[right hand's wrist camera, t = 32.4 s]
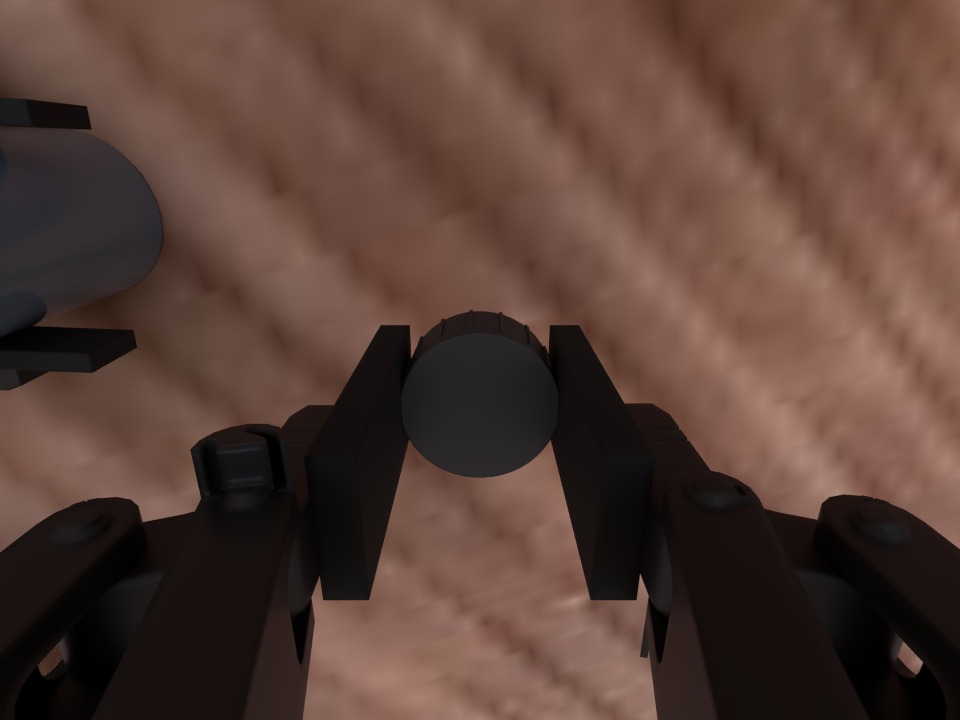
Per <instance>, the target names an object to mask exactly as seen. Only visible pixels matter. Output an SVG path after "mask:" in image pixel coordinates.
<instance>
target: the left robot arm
mask: <svg viewBox="0 0 960 720" xmlns="http://www.w3.org/2000/svg"><path fill="white" fill-rule="evenodd" d="M0 126H18V127H42V128H65V129H89V130H92V129H91V124H90V120H89V115H88V110H87V106H80V105H71V104H62V103H54V102H45V101H36V100H28V99H8V98H0ZM135 348H137V345H136V340H135V335H134V331H133V330H116V329H91V328H65V327H40V326H30V327H28V328H25V329H22V330H20V331H17V332H15V333H12V334H9V335H7V336H4V337H2V338H0V390H11V389H14V388H16V387H19V386H21V385H23V384H25V383H27V382H29V381H31V380H33V379H35V378H37V377H39V376H41V375H43V374H45V373H47V372H48V371H59V372H85V373H93V372H94V371H96V370H98V369H100V368H102V367H103V366H105V365H107V364H109V363H110V362H112V361H114V360H116V359H117V358H119V357H121V356H123V355H125V354H126V353H128V352H130V351H132V350H133V349H135Z"/></svg>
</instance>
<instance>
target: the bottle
mask: <svg viewBox="0 0 960 720" xmlns="http://www.w3.org/2000/svg"><path fill="white" fill-rule="evenodd" d="M161 244H162V222H161V216H160V212H159V208H158V205H157V203H156V200H155V197H154V195H153V193H152V191H151V189H150V187H149V186H148V184H147V182H146V181H145V179H144V178H143V176H142V175H141V174H140V173H139V171H138V170H137V169H136V168H135V167H134V165H133V164H132V163H131V162H130V161H128V160H127V159H126V158H125V157H124V156H123V155H122V154H121V153H119V152H118V151H117V150H116V149H114V148H113V147H111V146H109V145H108V144H106V143H105V142H103V141H101V140H99V139H97V138H95V137H92V136H90V135H87V134H84V133H81V132H76V131H72V130H62V129H45V128H26V127H7V126H0V338H2V337H4V336H7V335H9V334H12V333H15V332H17V331H20V330H22V329H25V328H28V327H30V326H33V325H35V324H38V323H41V322H43V321H46V320H48V319H51V318H54V317H56V316H59V315H61V314H64V313H66V312H69V311H72V310H74V309H77V308H79V307H82V306H85V305H87V304H90V303H92V302H95V301H98V300H100V299H103V298H105V297H108V296H111V295H113V294H116V293H118V292H121V291H124V290H126V289H129V288H130V287H132V286H134V285H136V284H137V283H139V282H140V281H141V280H143V279H144V278H145V277H146V276H147V275H148V274H149V273H150V271H151V270H152V268H153V267H154V265H155V263H156V261H157V259H158V256H159V253H160V249H161Z"/></svg>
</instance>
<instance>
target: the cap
mask: <svg viewBox="0 0 960 720" xmlns="http://www.w3.org/2000/svg"><path fill="white" fill-rule="evenodd" d="M552 367H553V366H552V364H551V361H550V358H549V355H548V352H547V349H546V347H545V346H542V344H541V343H540V342H539V340H538V339H537V337H536V336H535V335H534V334H533V333H532V332H531V331H530V330H529V327H528V326H527V325H525V326H524V325H522V324H521V323H519V322H518V321H516V320H514V319H512V318H510V317H507V316H505V315H503V313H502V312H499V314H498V313H492V312H482V311H475V312H473V310H469V312H467V313H462V314H458V315H455V316H453V317H450V318H448V319H446V320H445V319H444V318H443V319H441V322H440V323H439V324H437V325H436V326H435V327H433V328H432V329H431V330H430V331H429V332H428V333H427V334H426V335H425V336H424V337H422V336H421V337H420V339H419V342H418V345H417V348H416V349H415V352H414V354H413V356H412V359H411V361H410V362H409V365H408V368H407V371H406V374H405V376H404V379H403V387H402V390H401V402H402V419H403V427H404V430H405V432H406V434H407V436H408V438H409V440H410V441H411V443H412V444H413V446H414V447H415V448H416V449H417V450H418V452H419V453H420V454H421V455H422V456H423V457H425V458H426V459H427V460H428V461H430V462H431V463H433V464H434V465H436V466H437V467H439V468H441V469H443V470H445V471H448V472H450V473H453V474H457V475H461V476H466V477H475V478H485V477H494V476H499V475H503V474H506V473H509V472H512V471H514V470H517V469H519V468H521V467H523V466H524V465H526V464H527V463H529V462H530V461H531V460H533V459H534V458H535V457H536V456H538V454H539V453H540V452H541V451H542V450H543V449H544V448H545V447H546V445H547V444H548V442H549V441H550V439H551V437H552V436H553V434H554V431H555V429H556V426H557V412H558V394H559V393H558V387H557V384H556V381H555V378H554V375H553V372H552V369H551V368H552Z"/></svg>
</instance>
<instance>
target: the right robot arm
mask: <svg viewBox="0 0 960 720" xmlns="http://www.w3.org/2000/svg"><path fill="white" fill-rule="evenodd" d="M549 358H550V361H551V364H552V366H553V367H552V368H551V369H552V372H553V375H554V378H555V381H556V384H557V387H558V393H559V394H558V412H557V426H556V429H555V431H554V434H553V436H552V437H551V443H552V447H553V451H554V455H555V459H556V463H557V467H558V471H559V475H560V479H561V483H562V487H563V491H564V495H565V499H566V503H567V507H568V511H569V515H570V519H571V523H572V527H573V531H574V535H575V539H576V543H577V547H578V551H579V555H580V559H581V563H582V567H583V571H584V575H585V579H586V583H587V587H588V591H589V595H590V599H591V600H636V599H637V592H638V585H639V577H640V574H641V577H642V579H643V582H644V584H645V587H646V590H647V592H648V595H649V599H648V606H647V613H646V619H645V626H644V633H643V640H642V647H641V654H640V657H644V658H647V657H648V651H649V654H650V662H651V670H652V678H653V686H654V694H655V702H656V710H657V718H658V720H960V549H959V548H957V547H956V546H955V545H954V544H952V543H951V542H950V541H948V540H947V539H946V538H944V537H943V536H942V535H941V534H939V533H938V532H937V531H935V530H934V529H933V528H931V527H930V526H929V525H928V524H926V523H925V522H924V521H922V520H920V519H919V518H917V517H916V516H914V515H912V514H911V513H909V512H908V511H906V510H904V509H901V508H899V507H896V506H894V505H892V504H890V503H889V502H887V501H884V500H880V499H877V498H875V499H873V497H868V496H856V495H839V496H833V497H829V498H828V499H827V500H826V501H824V502H823V503H822V505H821V509H820V512H819V516H818V520H816V519H810V518H805V517H800V516H795V515H789V514H784V513H779V512H775V511H771V510H767V509H764V508H763V506H762V504H761V502H760V500H759V498H758V497H757V495H756V494H755V493H754V492H753V491H752V489H751V488H750V487H748V486H747V485H745V484H744V483H742V482H740V481H739V480H737V479H735V478H733V477H730V476H727V475H725V474H722V473H720V472H714V471H711V470H710V469H709V467H708V466H707V465H706V463H705V462H704V461H703V459H702V458H701V457H700V455H699V454H698V452H697V451H696V450H695V448H694V447H693V446H692V444H691V443H690V442H689V441H687V437H686V436H685V435H684V433H683V432H682V431H681V430H679V427H678V425H677V424H676V422H675V421H674V420H673V418H672V417H671V416H670V414H668V413H666V412H665V411H663V410H662V409H660V408H658V407H657V406H655V405H653V404H624V402H623V400H622V399H621V397H620V395H619V393H618V392H617V390H616V388H615V387H614V385H613V383H612V381H611V380H610V378H609V376H608V375H607V373H606V371H605V369H604V368H603V366H602V364H601V363H600V361H599V359H598V357H597V356H596V354H595V352H594V351H593V349H592V347H591V345H590V344H589V342H588V340H587V339H586V337H585V335H584V333H583V332H582V330H581V328H580V327H579V325H550V335H549ZM410 361H411V342H410V325H381V326H380V328H379V329H378V331H377V333H376V334H375V336H374V338H373V340H372V341H371V343H370V345H369V346H368V348H367V350H366V352H365V353H364V355H363V357H362V358H361V360H360V362H359V364H358V365H357V367H356V369H355V370H354V372H353V374H352V376H351V377H350V379H349V381H348V382H347V384H346V386H345V388H344V389H343V391H342V393H341V394H340V396H339V398H338V400H337V401H336V403H335V405H308V406H306V407H304V408H303V409H301V410H300V411H298V412H296V413H295V414H293V415H292V416H290V417H289V419H288V420H287V421H286V423H285V424H284V426H283V427H282V428H280V427H277V426H273V425H269V424H246V425H240V426H234V427H230V428H227V429H224V430H220V431H217V432H214V433H212V434H211V435H209V436H207V437H205V438H203V439H201V440H200V441H199V442H198V443H197V444H196V445H195V446H194V447H193V448H192V449H190V450H191V455H192V459H193V464H194V468H195V473H196V477H197V481H198V486H199V490H200V495H201V500H200V502H199V504H198V506H197V508H196V510H195V512H191V513H187V514H183V515H178V516H173V517H168V518H162V519H157V520H152V521H147V522H143V521H142V518H141V514H140V510H139V507H138V505H136V504H135V503H134V502H133V501H132V500H130V499H124V498H119V497H111V498H96V499H91V500H88V501H86V502H85V501H82V502H79V503H75V504H73V505H71V506H70V507H68V508H65V509H63V510H61V511H58V512H56V513H54V514H52V515H51V516H49V517H48V518H46V519H44V520H43V521H41V522H40V523H38V524H36V525H35V526H34V527H33V528H31V529H30V530H29V531H27V532H26V533H25V534H24V535H22V536H21V537H20V538H18V539H17V540H16V541H15V542H13V543H12V544H11V545H9V546H8V547H7V548H6V549H4V550H3V551H2V552H0V720H303V712H304V704H305V696H306V687H307V679H308V671H309V663H310V655H311V647H312V639H313V631H314V623H315V620H314V613H313V606H312V599H311V597H312V594H313V592H314V589H315V586H316V584H317V581H318V578H319V576H320V580H321V587H322V595H323V600H369V598H370V594H371V590H372V586H373V582H374V578H375V574H376V570H377V566H378V562H379V558H380V554H381V550H382V546H383V542H384V538H385V534H386V530H387V526H388V522H389V518H390V514H391V510H392V505H393V501H394V497H395V493H396V489H397V485H398V481H399V477H400V473H401V469H402V465H403V461H404V457H405V453H406V449H407V445H408V441H409V438H408V436H407V434H406V432H405V430H404V427H403V419H402V402H401V390H402V387H403V379H404V376H405V374H406V371H407V368H408V365H409V362H410ZM903 641H904V642H905V643H906V644H907V646H908V647H909V648H910V649H911V650H912V651H913V652H914V653H915V654H916V655H917V656H918V657H919V658H920V659H921V660H922V662H923V664H922V667H921V669H920V672H919V673H918V674H917V675H916V674H914V673H913V672H912V671H911V670H910V669H908V668H907V667H906V666H905V665H904V663H903V662H902V661H901V660H900V659H899V658H898V657H897V656H898V654H899V651H900V649H901V646H902V643H903ZM56 645H58V647H59V650H60V653H61V655H62V658H63V659H62V661H61V662H60V663H59V664H58V665H57V666H56V667H55V668H54V669H53V670H52V671H51V672H50V673H48V674H47V675H46V676H45V677H43V676H42V675H41V673H40V671H39V668H38V666H37V665H38V664H39V663H40V662H41V661H42V660H43V659H44V658H45V657H46V656H47V655H48V653H49V652H50V651H51V650H52V649H53V648H54V647H55V646H56Z"/></svg>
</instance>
